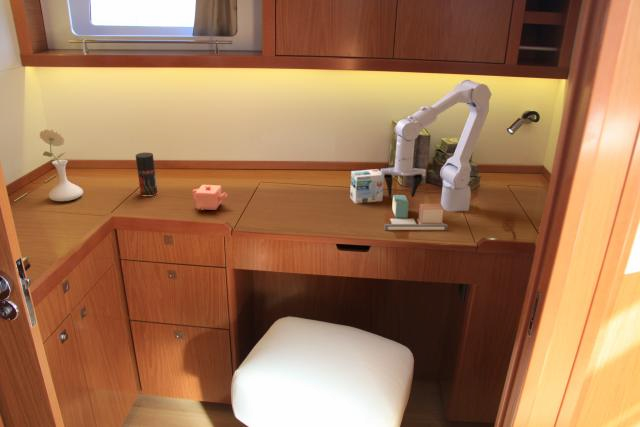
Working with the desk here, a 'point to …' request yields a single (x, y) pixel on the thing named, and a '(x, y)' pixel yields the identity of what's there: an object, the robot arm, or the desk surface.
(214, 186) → the pink cube teapot
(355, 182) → the light bulb box
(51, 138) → the flower in vase
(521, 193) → the desk surface
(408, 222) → the shelf board
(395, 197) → the teal box
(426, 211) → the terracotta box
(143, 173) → the deodorant
